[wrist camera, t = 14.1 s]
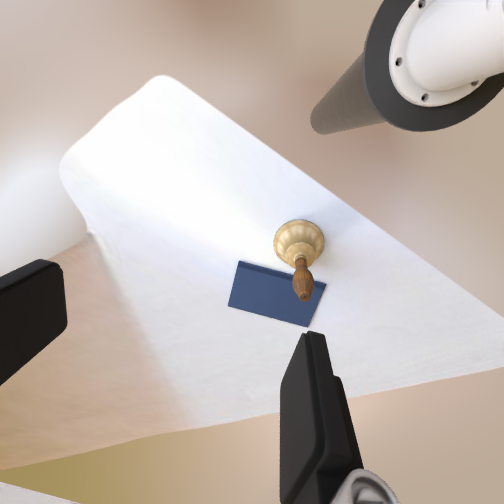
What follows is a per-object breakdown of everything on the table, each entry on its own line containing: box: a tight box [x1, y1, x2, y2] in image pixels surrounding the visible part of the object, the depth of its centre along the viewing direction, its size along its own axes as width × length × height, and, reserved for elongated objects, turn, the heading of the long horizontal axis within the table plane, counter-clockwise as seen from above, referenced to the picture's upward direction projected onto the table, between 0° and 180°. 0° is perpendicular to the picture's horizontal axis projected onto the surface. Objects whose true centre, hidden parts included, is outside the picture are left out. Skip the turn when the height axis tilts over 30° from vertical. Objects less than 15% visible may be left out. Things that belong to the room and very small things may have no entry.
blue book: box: [228, 261, 326, 327], centre depth 46 cm, size 10×16×1 cm, turn 76°
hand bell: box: [274, 220, 324, 302], centre depth 35 cm, size 8×8×16 cm
